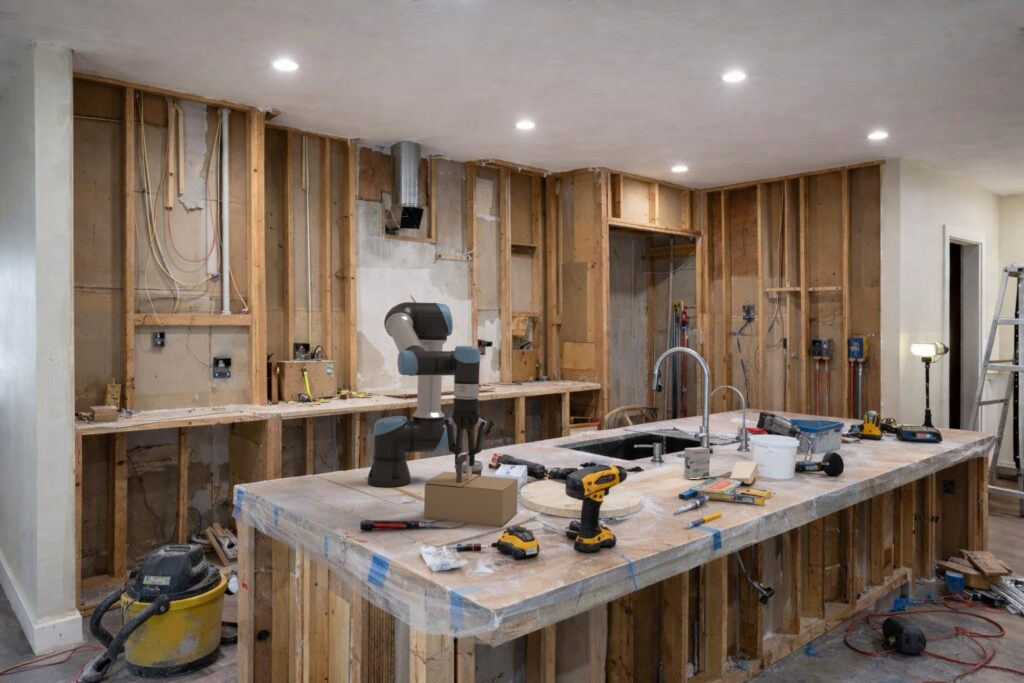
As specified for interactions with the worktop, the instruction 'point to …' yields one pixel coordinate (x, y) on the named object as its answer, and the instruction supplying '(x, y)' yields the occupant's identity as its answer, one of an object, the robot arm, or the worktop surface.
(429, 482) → the flap
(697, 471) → the ink box
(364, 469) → the worktop surface
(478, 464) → the disposable coffee cup
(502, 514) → the carton
